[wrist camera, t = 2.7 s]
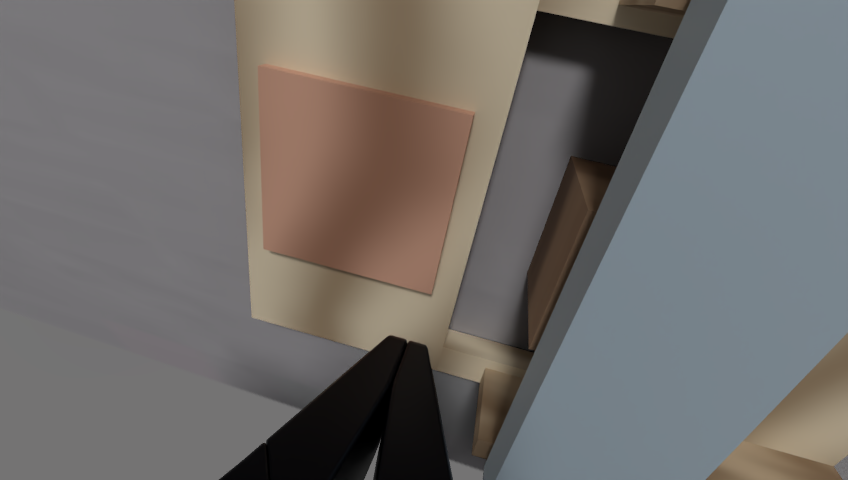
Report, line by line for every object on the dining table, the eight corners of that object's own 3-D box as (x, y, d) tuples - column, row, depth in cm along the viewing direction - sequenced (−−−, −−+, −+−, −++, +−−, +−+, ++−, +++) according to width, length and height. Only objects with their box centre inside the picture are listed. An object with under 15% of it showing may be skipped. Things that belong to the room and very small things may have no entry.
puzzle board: (265, 301, 21) (203, 373, 17) (252, -109, 12) (122, -164, 8) (801, 453, 18) (878, 578, 14) (1219, 78, 10) (1670, 127, 6)
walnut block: (527, 271, 17) (528, 349, 13) (570, 155, 14) (588, 209, 11) (651, 303, 16) (690, 394, 13) (719, 189, 14) (793, 260, 10)
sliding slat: (484, 466, 15) (480, 511, 14) (716, -56, 7) (761, -70, 6) (619, 507, 15) (629, 558, 14) (1034, 4, 7) (1164, 4, 5)
